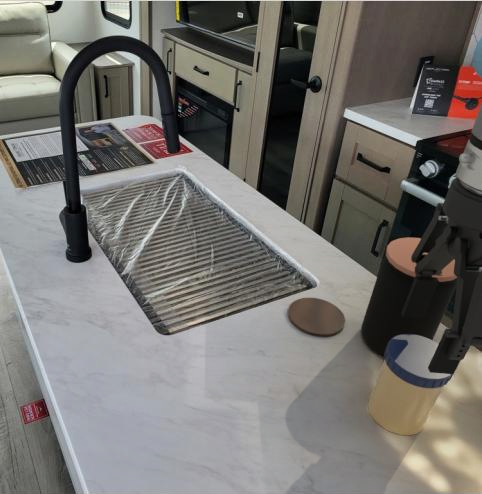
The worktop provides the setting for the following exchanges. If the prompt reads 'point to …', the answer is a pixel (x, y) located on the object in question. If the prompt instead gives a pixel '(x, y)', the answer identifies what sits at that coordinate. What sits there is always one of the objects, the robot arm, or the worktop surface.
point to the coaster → (316, 317)
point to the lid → (414, 360)
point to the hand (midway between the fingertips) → (425, 341)
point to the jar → (400, 403)
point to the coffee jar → (403, 298)
